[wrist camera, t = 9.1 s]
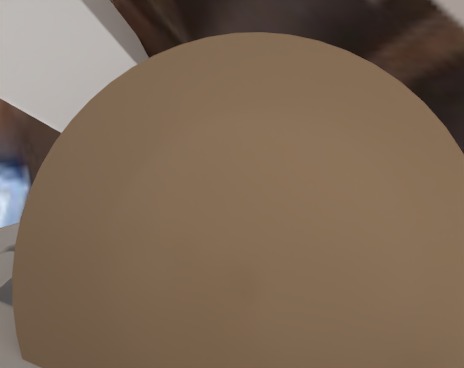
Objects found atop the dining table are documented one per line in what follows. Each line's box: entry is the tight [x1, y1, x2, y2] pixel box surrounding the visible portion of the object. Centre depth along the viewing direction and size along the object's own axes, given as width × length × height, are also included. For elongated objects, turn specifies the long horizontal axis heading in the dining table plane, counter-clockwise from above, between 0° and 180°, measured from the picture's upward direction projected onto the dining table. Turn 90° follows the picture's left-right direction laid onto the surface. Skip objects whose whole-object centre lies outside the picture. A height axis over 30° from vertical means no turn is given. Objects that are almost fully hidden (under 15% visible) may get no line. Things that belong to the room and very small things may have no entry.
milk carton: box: [0, 0, 149, 133], centre depth 23 cm, size 7×7×19 cm
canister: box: [12, 32, 464, 368], centre depth 10 cm, size 5×5×11 cm
